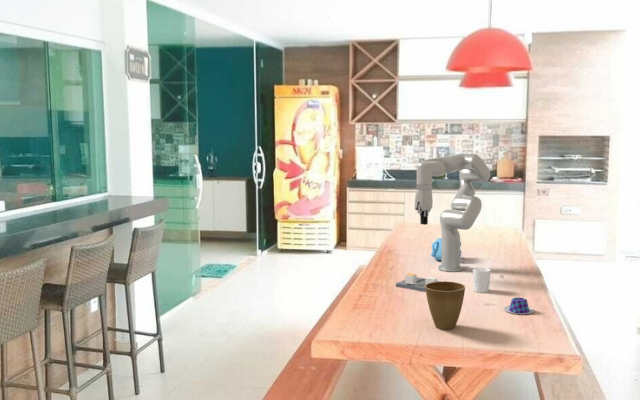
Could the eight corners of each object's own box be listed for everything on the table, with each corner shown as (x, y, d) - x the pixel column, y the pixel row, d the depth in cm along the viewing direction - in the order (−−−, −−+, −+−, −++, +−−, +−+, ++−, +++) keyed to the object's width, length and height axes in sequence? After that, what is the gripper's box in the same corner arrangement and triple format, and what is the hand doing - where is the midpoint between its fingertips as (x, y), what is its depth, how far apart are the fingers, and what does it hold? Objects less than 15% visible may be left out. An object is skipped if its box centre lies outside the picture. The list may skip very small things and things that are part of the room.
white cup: (477, 293, 287) (478, 272, 285) (469, 289, 294) (469, 268, 293) (493, 292, 289) (493, 270, 287) (484, 288, 296) (484, 267, 295)
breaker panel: (413, 279, 313) (413, 276, 313) (457, 287, 298) (457, 283, 298) (395, 286, 301) (395, 282, 301) (440, 294, 286) (440, 291, 286)
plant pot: (458, 320, 249) (459, 280, 247) (469, 332, 234) (469, 290, 232) (421, 321, 248) (421, 281, 246) (429, 333, 234) (429, 291, 232)
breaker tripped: (408, 281, 302) (408, 272, 301) (416, 283, 299) (416, 274, 298) (405, 283, 299) (405, 274, 299) (413, 284, 296) (413, 275, 296)
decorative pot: (464, 258, 360) (465, 235, 359) (455, 264, 346) (456, 239, 345) (437, 256, 368) (437, 233, 367) (427, 261, 355) (427, 237, 353)
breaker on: (428, 285, 295) (428, 276, 294) (437, 286, 292) (437, 278, 291) (425, 286, 292) (425, 278, 292) (433, 288, 289) (434, 279, 289)
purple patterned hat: (519, 305, 268) (519, 293, 268) (541, 313, 258) (541, 300, 257) (497, 309, 263) (498, 297, 262) (518, 317, 252) (519, 304, 252)
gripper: (425, 185, 320) (425, 221, 322) (409, 188, 309) (409, 225, 311) (438, 186, 315) (438, 223, 318) (423, 189, 304) (422, 226, 306)
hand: (424, 224), depth 314 cm, fingers closed
